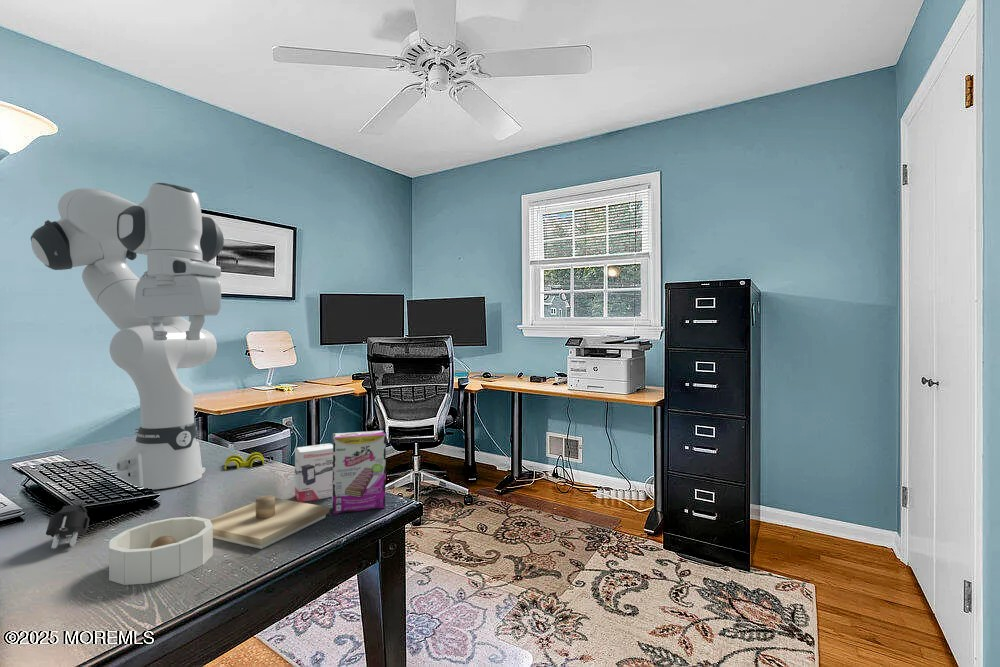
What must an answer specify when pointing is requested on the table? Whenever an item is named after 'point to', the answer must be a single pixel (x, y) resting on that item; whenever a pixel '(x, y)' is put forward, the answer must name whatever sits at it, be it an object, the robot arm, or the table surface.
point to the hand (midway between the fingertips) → (176, 340)
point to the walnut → (162, 541)
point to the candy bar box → (358, 471)
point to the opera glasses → (240, 461)
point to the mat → (270, 541)
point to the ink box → (313, 472)
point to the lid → (265, 519)
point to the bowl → (160, 550)
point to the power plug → (68, 524)
